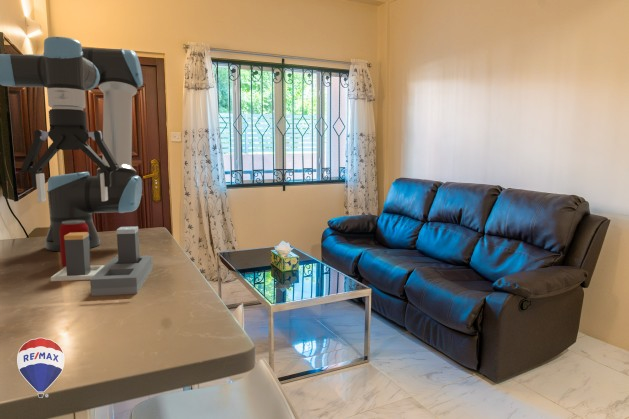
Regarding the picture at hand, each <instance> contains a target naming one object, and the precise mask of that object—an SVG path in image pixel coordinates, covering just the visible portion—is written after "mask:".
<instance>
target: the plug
mask: <svg viewBox="0 0 629 419" xmlns="http://www.w3.org/2000/svg"><path fill="white" fill-rule="evenodd" d="M64 241H65V255H66V268H67V276H76V275H88V274H89V273H90V272H91V270H90V266H91V262H90V259H91V254H90V255H89V240H88V232H75V233H68V234H67V235H65V236H64Z"/></svg>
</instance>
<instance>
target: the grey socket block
mask: <svg viewBox="0 0 629 419" xmlns="http://www.w3.org/2000/svg"><path fill="white" fill-rule="evenodd" d="M153 260H154V259H153V254H152V255H140V262H139V263H127V264H118V256H114V257H112V259H111V260H109V261H108V262H107V263H106V264H105V266H104V267H103V268H102V269H101V270H100V271H99V272H98V273H97V274H96V275H95V276H94V277H92V278H91V279H90V280H89V282H90V296H91V297H93V296H94V297H95V296H113V295H115V296H116V295H130V294H131V295H132V294H133V295H134V294H138V293H139V291H140V290H141V288H142V286H143V285H144V284H145V282H146V280H147V279H148V277H149V276H150V274H151V273H152V271H153V269H154V266H153V265H154V263H153V262H154V261H153Z"/></svg>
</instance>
